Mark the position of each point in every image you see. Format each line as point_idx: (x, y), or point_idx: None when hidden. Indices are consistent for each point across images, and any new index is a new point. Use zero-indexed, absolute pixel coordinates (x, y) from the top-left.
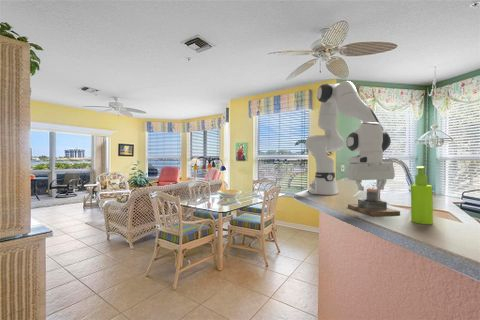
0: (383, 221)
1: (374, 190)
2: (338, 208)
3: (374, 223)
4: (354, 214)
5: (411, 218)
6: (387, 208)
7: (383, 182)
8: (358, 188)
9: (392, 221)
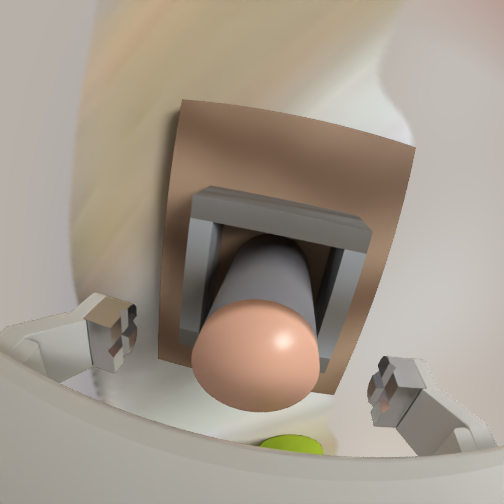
0: (150, 403)
1: (235, 403)
2: (108, 113)
3: (103, 397)
4: (101, 281)
5: (267, 446)
6: (345, 329)
7: (434, 452)
8: (88, 303)
9: (185, 417)
